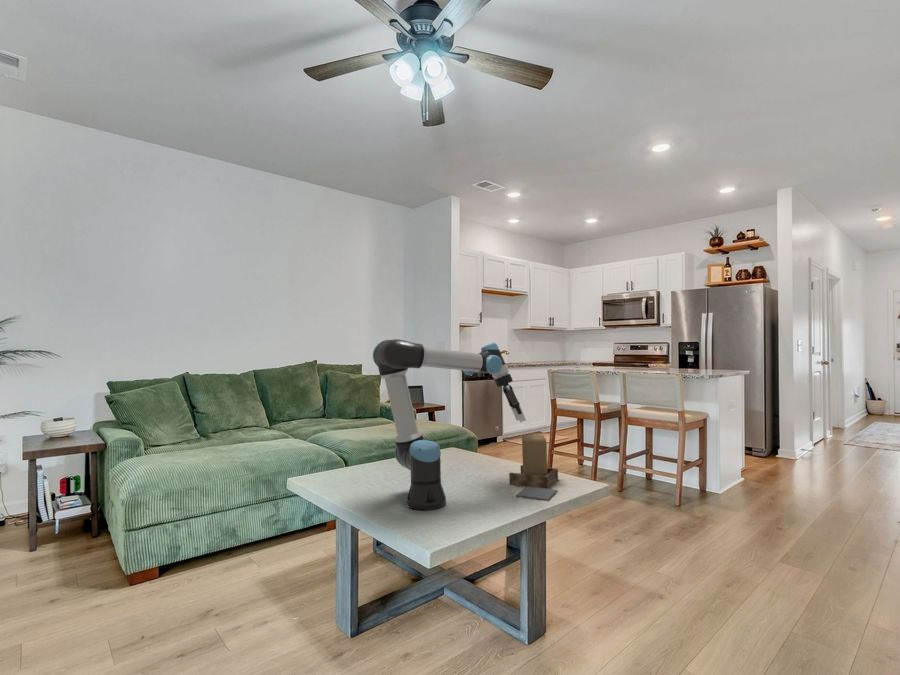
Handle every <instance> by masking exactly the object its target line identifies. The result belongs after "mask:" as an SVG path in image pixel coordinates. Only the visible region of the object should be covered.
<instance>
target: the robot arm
mask: <svg viewBox="0 0 900 675" xmlns="http://www.w3.org/2000/svg"><path fill="white" fill-rule="evenodd" d="M480 350H481V351H480V352H478V353H475V352H467V351H460V350H451V349H445V348H444V349H443V348H436V347H435V348H434V347H428V346H427V347H426V346H424V345H423V344H422V343H418V342H417V343H416V342H411V341H407V340H404V339H396V338H394V339H385V340H382V341H380V342H379V343H377V345H376V346H375V347H374V349H373V351H372V359H373V360H372V361H373V362H374V364H375V366H377V367H378V368H377V370H378V373H379V376H380V377H381V378H383V379H384V382H385V387H386V391H387V395H388V398H389V400H388V401H389V403H390V408H391V413H392V417H393V421H394V422H393V423H394V427H395V431H396V437H395V438H394V443H395V448H394V456H395V459H396V461H397V462H398V464H399V465H401V467H403V468H405V469H408V470H409V471H410V487H409V489H408V493H407V497H406V506H407V505H408V506H409V507H412V508H415V509H414V510H416V509H426V510H425V511H428V510H427V509H432V510H436V509H437V510H438V509H440V507H441V508H443V507H444V506H445V505H447V496H446V494H445V490H444V487H443V484H442V477H441V476H442V474H441V473H442V472H441V471H442V470H441V468H442V467H441V455H442V454H441V446H440V444H439V443H438V442H436V441H433V440H428V439H424V435H423V433H422V431H420V430H419V429H418V426H417V421H416V417H415V411H414V407H413V402H412V398H411V394H410V389H409V385H408V380H407V376H406V374H407V372H408V370H409V369H421V368H423V367H425V368H436V369H443V370H444V369H446V370H456V371H462V373H463V374H464V375H466V376H470V375H474V374H476V373H477V374H478V373H479V374H480V373H481V374H491V376H492V378H493V379H494V382H495V384H496V387H497V388H500V387H502V392H503V394H504V395H505V397H506V400H507V402H508V405H509V406H510V408H511V411H512V414H513V416H514V418H515V420H516V422H518V421H519V423H522V422H525V421H527V419H526V417H525V415H524V411H523V409H522V406H521V405H520V402H519V400H518V399H517V396H516V394H515V392H514V388H513V387H512V385H511V384H510V383H512V382H513V377H512V375H511V374H510V373H509V369H508V368H509V366H508V365H507V364H506V362H505V359H504V358H503V355H502V353H501V349H499V346H498V345H497V343H496V342H490V343H488V344H485V345H484V346H482V347H481V348H480ZM408 506H407V507H408ZM409 507H408V508H409ZM412 508H411V509H412Z"/></svg>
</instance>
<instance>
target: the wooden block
mask: <svg viewBox="0 0 900 675" xmlns="http://www.w3.org/2000/svg"><path fill="white" fill-rule="evenodd" d="M547 447H548V445H547V438H546V437H545V435H543V434H524V435H521V448H522V449H521V452H522V454H521V455H522V456H521V457H522V465H523V474H529V475H538V476H546V475H547V468H548V450H547V449H548V448H547Z"/></svg>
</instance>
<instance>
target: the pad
mask: <svg viewBox="0 0 900 675" xmlns="http://www.w3.org/2000/svg"><path fill="white" fill-rule="evenodd" d="M556 492H557V493H558V489H554V488H549V489H546V488H537V487H528V486H527V487H524V488H523V489H522V490H520V491H519V492H518V493H517V494H515V496H516V498H519V497H521V498H520V499H527V498H529V499H528V500H535V499H536V500H535V501H543V502H549V501H550V500H551V499H552V498H553V497H554V496H555V495H556V494H557V493H556ZM555 493H556V494H555Z"/></svg>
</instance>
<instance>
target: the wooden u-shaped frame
mask: <svg viewBox="0 0 900 675" xmlns="http://www.w3.org/2000/svg"><path fill="white" fill-rule="evenodd" d="M508 476H509V479H508V480H509V481H508V482H509V485H510V486H515V485H517V486H518V487H523V486H525V487H527V486H528V487H537V488H546V489H548V488H549V489H550V488H551V487H552V486H553V485H554V484H553V483H554V482H555V481H556V480H558V481H559V468H555V467H554V468H553V467H547V475H546V476H538V475H529V474H523V464H521V465H520V473H519V472H509V474H508ZM556 482H557V481H556ZM556 482H555V483H556ZM525 487H524V488H525Z"/></svg>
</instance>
